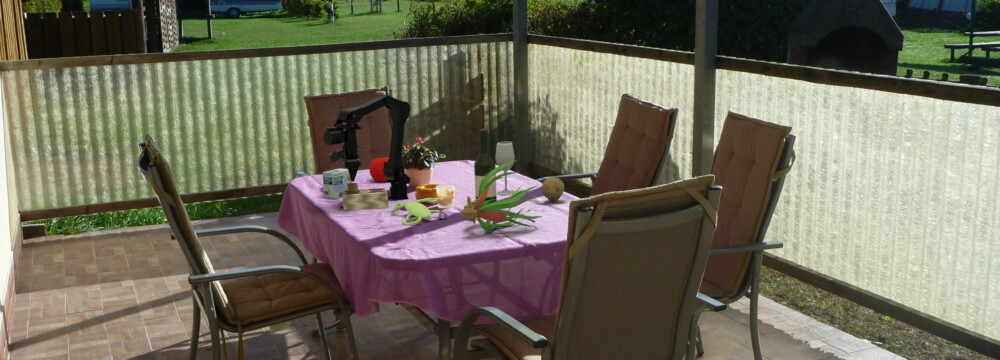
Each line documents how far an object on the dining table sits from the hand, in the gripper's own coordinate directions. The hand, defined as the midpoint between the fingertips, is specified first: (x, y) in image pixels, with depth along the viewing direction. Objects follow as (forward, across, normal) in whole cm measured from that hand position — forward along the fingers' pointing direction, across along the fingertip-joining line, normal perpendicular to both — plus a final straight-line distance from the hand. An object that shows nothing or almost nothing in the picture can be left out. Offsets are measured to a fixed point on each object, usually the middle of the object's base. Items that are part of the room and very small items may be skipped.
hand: (352, 181), depth 416 cm
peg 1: (+7, 0, 0) cm, 7 cm away
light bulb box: (+11, -25, -5) cm, 28 cm away
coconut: (+11, +17, +76) cm, 79 cm away
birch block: (+10, 0, +4) cm, 11 cm away
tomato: (+11, -52, +16) cm, 55 cm away
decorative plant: (+11, +55, +47) cm, 73 cm away
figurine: (+11, +24, +23) cm, 35 cm away
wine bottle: (+11, +15, +50) cm, 53 cm away
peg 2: (+10, 0, +9) cm, 14 cm away
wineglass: (+11, -6, +62) cm, 63 cm away
